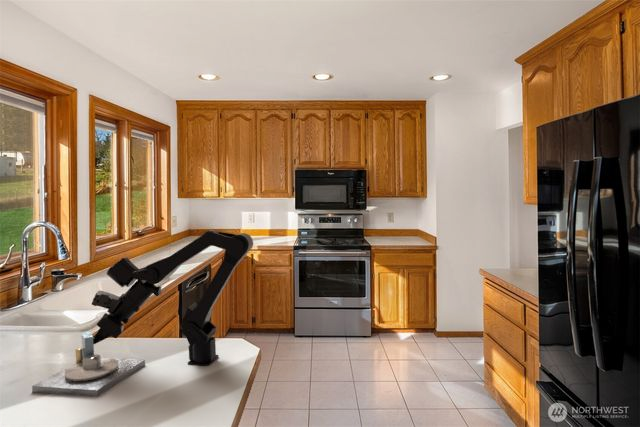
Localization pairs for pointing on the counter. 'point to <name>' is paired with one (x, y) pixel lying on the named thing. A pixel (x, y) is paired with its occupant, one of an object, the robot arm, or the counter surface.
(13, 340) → the counter surface
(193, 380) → the counter surface
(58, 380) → the locating plate
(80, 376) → the flange
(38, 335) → the counter surface
